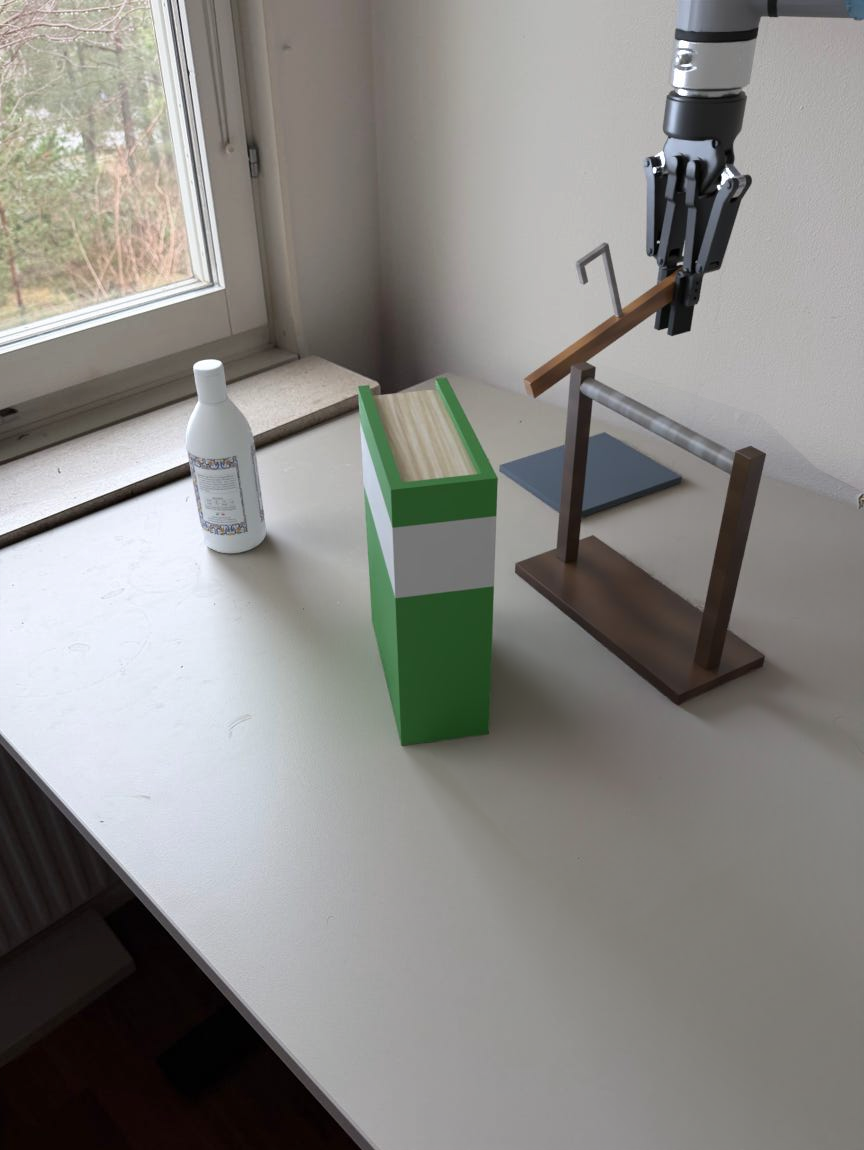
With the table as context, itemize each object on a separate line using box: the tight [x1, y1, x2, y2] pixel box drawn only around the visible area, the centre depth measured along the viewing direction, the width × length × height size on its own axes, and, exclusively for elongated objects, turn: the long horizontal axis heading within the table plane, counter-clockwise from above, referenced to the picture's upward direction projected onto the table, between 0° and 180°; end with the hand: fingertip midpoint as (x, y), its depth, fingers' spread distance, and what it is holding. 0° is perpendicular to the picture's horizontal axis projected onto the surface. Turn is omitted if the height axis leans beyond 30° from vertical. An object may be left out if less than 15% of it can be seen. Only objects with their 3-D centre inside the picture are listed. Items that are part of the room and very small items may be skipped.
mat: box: [498, 431, 683, 518], centre depth 115 cm, size 16×14×1 cm
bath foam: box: [185, 359, 267, 554], centre depth 101 cm, size 7×7×20 cm
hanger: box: [522, 241, 683, 399], centre depth 101 cm, size 22×1×10 cm, turn 119°
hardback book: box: [357, 377, 499, 746], centre depth 80 cm, size 18×7×24 cm, turn 9°
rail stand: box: [514, 361, 767, 706], centre depth 86 cm, size 10×24×22 cm, turn 29°
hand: (672, 329), depth 108 cm, fingers closed on hanger
